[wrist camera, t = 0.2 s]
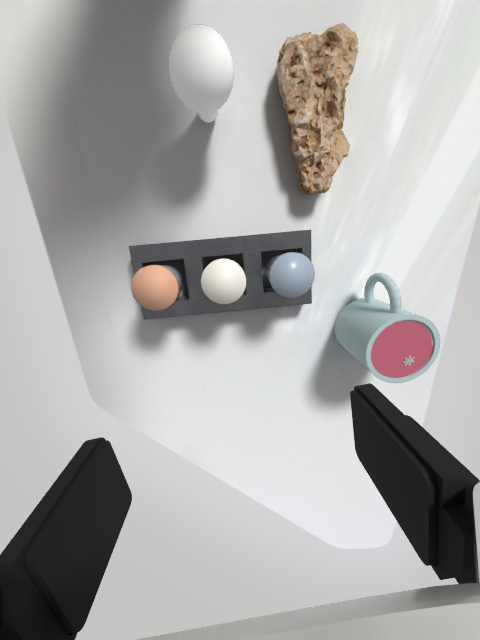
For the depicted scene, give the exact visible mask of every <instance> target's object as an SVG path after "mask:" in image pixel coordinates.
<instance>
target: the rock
mask: <svg viewBox="0 0 480 640" xmlns="http://www.w3.org/2000/svg"><path fill="white" fill-rule="evenodd" d="M357 44H358V39H357V36H356V33H355V32H353V31H351V30H350V29H349V28H348V27H347V26H346V24H344V23H341V24H338V25H335V26H333V27H331V28H329V29H327V30H326V31H325V32H324V33H323V34H322V35H319V36H318V35H317V34H316V35H312V34H311V32H309V33H303V34H302V35H297V36H295V37H289V38H287V39H286V41H285V43H284V44H283V46H282V48H281V50H280V51H279V58H278V61H277V67H276V71H277V76H278V86H279V92H280V95H281V97H282V99H283V106H284V107H285V110H286V114H287V117H288V123H289V125H291V127H292V128H291V142H292V153H293V154H294V155H295V163H296V164H297V167H298V168H297V178H298V179H299V183H300V185H299V186H300V192H301V194H302V195H313V194H315V193H317V192H318V193H322V192H323V193H325V192H327V191H328V189H329V188H330V187H331V183H332V180H331V176H333V174H334V173H335V172H336V170H337V169H338V167H339V166H340V164H341V161H342V159H343V158H344V157H347V155H348V152H349V147H350V144H349V143H348V141H347V139H346V138H345V136H344V133H343V131H342V130H340V129H342V127H343V120H344V106H345V101H346V98H345V92H346V91H345V88H346V86H347V85H348V81H349V77H350V75H351V74H352V72H353V68H354V64H355V60H356V56H357V53H358V46H357Z"/></svg>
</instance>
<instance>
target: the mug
mask: <svg viewBox="0 0 480 640" xmlns="http://www.w3.org/2000/svg"><path fill="white" fill-rule="evenodd" d="M377 281H379V282H381V283H382V284H383V285H384V286H385V288H386V289H387V291H388V294H389V298H390V304H387V303H384V302H382V301H379V300H376V299H374V295H373V291H374V286H375V284H376V282H377ZM364 295H365V298H360V299H357V300H354V301H352V302H350V303H349V304H347V305H346V306H345V307H344V308H343V309H342V310H341V311H340V312H339V314H338V316H337V317H336V320H335V324H334V334H335V337H336V340H337V341H338V343H339V344H340V345H341V346H342V347H343V348H344V349H345V350H347V351H348V352H349V353H350V354H351V355H352V356H353V357H354V358H355V359H357V360H358V361H359V362H360V363H361V364H362V365H363V366H364V367H365V368H367V369H368V370H369V371H370V372H371V373H372V374H373V375H374V376H376V377H377V378H378V379H380V380H382V381H385V382H389V383H403V382H407V381H410V380H413V379H415V378H417V377H418V376H420V375H422V374H423V373H424V372H425V371H426V370H428V369H429V367H430V366H431V365H432V364H433V362H434V361H435V359H436V357H437V355H438V352H439V348H440V336H439V332H438V330H437V328H436V327H435V325H434V324H433V323H432V322H431V321H430V320H428V319H426V318H425V317H422V316H419V315H417V314H414V313H411V312H409V311H406V310H403V309H401V296H400V292H399V289H398V287H397V285H396V283H395V282H394V281H393V279H392V278H390V277H389V276H388V275H386V274H384V273H375V274H373V275H371V276H370V277H369V279H368V280H367V282H366V285H365V293H364Z"/></svg>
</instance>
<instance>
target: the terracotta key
mask: <svg viewBox="0 0 480 640" xmlns="http://www.w3.org/2000/svg"><path fill="white" fill-rule="evenodd" d="M182 286H183V278H182V275H181V273H180V272H179V271H178V270H177V269H176V268H175V267H173V266H170V265H162V266H161V265H150V266H146V267H143V268H141V269H140V270H139V271H137V272H136V274H135V275H134V277H133V279H132V284H131V289H132V293H133V296H134V298H135V299H136V301H137V302H138V303H139V304H140V305H141V306H143V307H145V308H147V309H149V310H155V311H157V310H163V309H166V308H167V307H169V306H170V305H171V304H172V303H173V302H174V301H175V300H176V298H177V296H178V294H179V292H180V290H181V289H182Z"/></svg>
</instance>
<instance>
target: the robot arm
mask: <svg viewBox="0 0 480 640" xmlns="http://www.w3.org/2000/svg"><path fill="white" fill-rule="evenodd" d="M350 397H351V408H352V419H353V430H354V440H355V450H356V453H357V456H358V458H359V460H360V462H361V463H362V465H363V466H364V468H365V470H366V471H367V473H368V475H369V476H370V478H371V479H372V481H373V483H374V484H375V486H376V488H377V489H378V491H379V492H380V494H381V496H382V497H383V499H384V501H385V502H386V504H387V505H388V507H389V509H390V510H391V512H392V514H393V515H394V517H395V518H396V520H397V522H398V523H399V525H400V527H401V528H402V530H403V531H404V533H405V535H406V536H407V538H408V539H409V541H410V543H411V544H412V546H413V547H414V549H415V551H416V552H417V554H418V556H419V557H420V559H421V560H422V561H423V563H424V564H425V565H426V566H428V565H431V566H432V568H433V569H434V571H435V572H436V574H437V575H438V577H439V579H440V580H443V579H449V578H454V577H455V579H456V580H457V582H458V583H459V584H457V585H456V584H455V585H445V586H434V587H428V588H422V589H415V590H408V591H402V592H396V593H389V594H383V595H377V596H370V597H365V598H359V599H354V600H348V601H343V602H337V603H331V604H326V605H320V606H315V607H309V608H304V609H299V610H293V611H288V612H282V613H277V614H271V615H265V616H260V617H255V618H249V619H244V620H239V621H234V622H228V623H223V624H217V625H212V626H207V627H201V628H196V629H191V630H186V631H180V632H175V633H170V634H164V635H160V636H154V637H149V638H144V639H138V640H480V481H479V479H478V478H476V477H475V476H474V475H473V474H472V473H471V472H470V471H469V470H468V469H467V468H466V467H465V466H464V465H462V464H461V463H460V462H459V461H458V460H457V459H456V458H455V457H454V456H453V455H452V454H451V453H449V452H448V451H447V450H446V449H445V448H444V447H443V446H442V445H441V444H440V443H439V442H438V441H437V440H435V439H434V438H433V437H432V436H431V435H430V434H429V433H428V432H427V431H426V430H425V429H424V428H423V427H421V426H420V425H419V424H418V423H417V422H416V421H415V420H414V419H413V418H411V417H410V416H407V415H404V414H403V413H402V412H401V411H400V410H399V409H398V408H397V407H396V406H394V405H393V404H392V403H391V402H390V401H389V400H388V399H387V398H386V397H385V396H384V395H383V394H382V393H381V392H380V391H379V390H378V389H377V388H376V387H375V386H373V385H372V384H370V383H369V384H364V385H360V386H355V387H354V391H351V392H350ZM131 501H132V495H131V491H130V489H129V486H128V484H127V482H126V479H125V477H124V475H123V472H122V470H121V467H120V465H119V463H118V460H117V458H116V455H115V453H114V451H113V448H112V446H111V444H110V442H109V441H106V440H105V439H104V438H97V439H92V440H88V441H85V442H84V443H83V445H82V446H81V448H80V449H79V450H78V451H77V453H76V454H75V455H74V457H73V458H72V459H71V461H70V462H69V463H68V465H67V466H66V467H65V469H64V470H63V472H62V473H61V474H60V476H59V477H58V478H57V480H56V481H55V482H54V484H53V485H52V486H51V488H50V489H49V490H48V492H47V493H46V495H45V496H44V497H43V499H42V500H41V501H40V502H39V504H38V505H37V507H36V508H35V509H34V510H33V512H32V513H31V514H30V516H29V517H28V518H27V520H26V521H25V522H24V524H23V525H22V527H21V528H20V529H19V531H18V532H17V533H16V535H15V536H14V537H13V539H12V540H11V541H10V543H9V544H8V545H7V547H6V548H5V549H4V551H3V552H2V553H1V555H0V640H75V638H76V635H77V633H78V632H79V631H80V630H81V629H82V628H83V626H84V624H85V622H86V619H87V617H88V614H89V612H90V609H91V606H92V604H93V601H94V599H95V596H96V593H97V591H98V588H99V586H100V583H101V580H102V578H103V575H104V572H105V570H106V567H107V565H108V562H109V559H110V557H111V554H112V552H113V549H114V547H115V544H116V541H117V539H118V536H119V534H120V531H121V528H122V526H123V523H124V520H125V518H126V515H127V513H128V510H129V508H130V505H131Z"/></svg>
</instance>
